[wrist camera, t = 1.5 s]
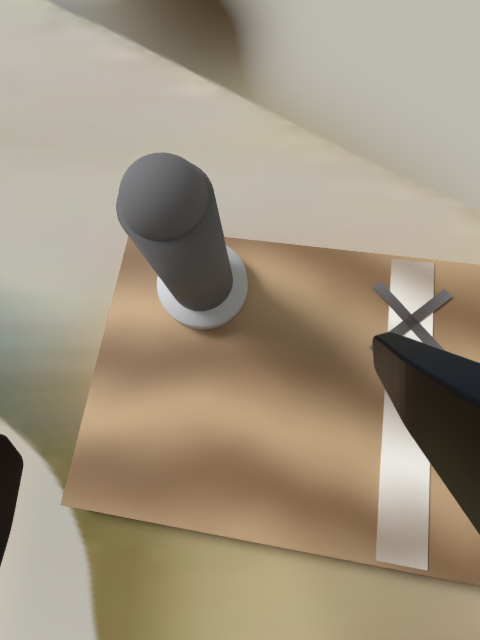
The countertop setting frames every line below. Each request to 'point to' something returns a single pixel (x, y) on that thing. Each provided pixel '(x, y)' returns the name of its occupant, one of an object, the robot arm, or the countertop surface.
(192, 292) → the grey domed cylinder
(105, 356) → the board
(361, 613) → the countertop surface
